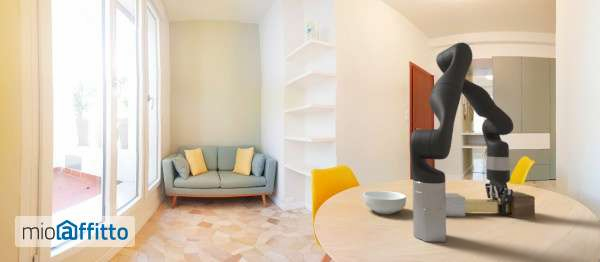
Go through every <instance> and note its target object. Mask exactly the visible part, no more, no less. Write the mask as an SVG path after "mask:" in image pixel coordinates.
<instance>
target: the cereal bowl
mask: <svg viewBox="0 0 600 262" xmlns="http://www.w3.org/2000/svg"><path fill="white" fill-rule="evenodd" d="M363 202H364V204H365V205H366V206H367V208H369V209H370V210H373V211H374V212H375V213H376V212H377V213H376V214H381V215H392V214H394V213H396V212H399V211H401V210H403V209H404V208H405V206H406V203H407V196H406V195H405V194H404V193H401V192H396V191H388V190H387V191H386V190H370V191H365V192H363Z"/></svg>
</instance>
